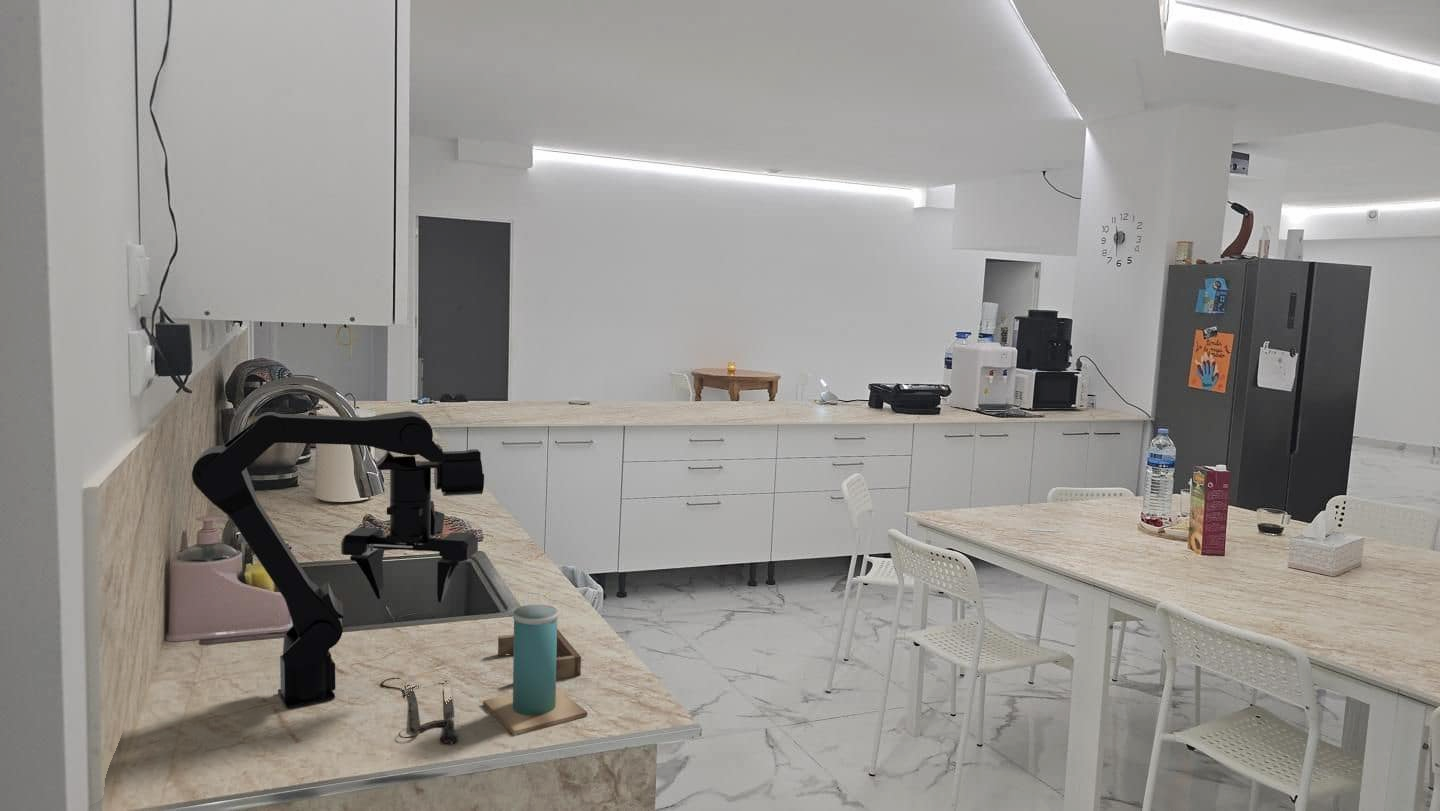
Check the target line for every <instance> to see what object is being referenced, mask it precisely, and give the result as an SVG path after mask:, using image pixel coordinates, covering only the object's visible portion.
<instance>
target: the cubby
mask: <svg viewBox="0 0 1440 811" xmlns="http://www.w3.org/2000/svg"><path fill="white" fill-rule="evenodd" d="M497 640H498V641H497V655H498V654H499V655H498V656H499V657H501V656H500V655H505V656H507V655H506V654H512V655H514V634H508V635H499V636H498V637H497ZM556 656H558V657H556V680H559V679H565V678H569V677H570V678H571V677H577V676H581V675H582V674H581V672H582V667H581V666H582V656H581V655H580V654H579V652H577V650H576V649H575V648H574V647H573V646H572V645H571V643H570V642H569V641H568V640H567V639H566V637H565V636H564V634H562V632H561V631H560V630H559V629H558V628H557V654H556Z"/></svg>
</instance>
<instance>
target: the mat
mask: <svg viewBox="0 0 1440 811" xmlns="http://www.w3.org/2000/svg"><path fill="white" fill-rule="evenodd" d="M483 704H484V705H485V706H486V707H487V708H488V709H489V710H488V709H487V708H486V707H485V706H484V705H483ZM482 705H483V706H484V707H485V708H486V709H487V710H488V711H489V712H490V713H491V714H492V715H493V716H494V717H495V718H496V719H497V720H498V721H499V722H500V723H501V724H503V726H505V728H507V729H508V731H509V732H510V733H511V734H512V735H514V736H516V735H521V734H524V733H525V734H526V733H529V732H532V731H536V730H540V729H543V728H547V727H551V726H555V725H557V724H558V725H559V724H562V723H566V722H570V721H573V720H576V719H580V718H581V719H582V718H584V717H588V711H587V710H586V709H584V708H583V707H582V706H580V705H579V704H578V703H577V702H575V701H574V700H573V699H572V698H571V697H569V696H568V695H567V694H566V693H564V692H563V691H562V690H561V689H559V688H558V687H557V686H556V703H555V708H554V709H553V710H552V711H550V712H548V713H546V714H542V715H534V716H529V715H522V714H519V713H517V712H515V711H514V710H513V693H509V694H506V695H505V694H504V695H502V696H497V697H494V698H488V699H485V700H484V699H483V703H482Z"/></svg>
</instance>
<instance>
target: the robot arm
mask: <svg viewBox="0 0 1440 811" xmlns="http://www.w3.org/2000/svg"><path fill="white" fill-rule="evenodd" d="M433 434H434V432H433V429H432V427H431V424H430V423H429V422H428V421H427V419H425V418H424V416H423V415H421V414H420V413H418V412H416V411H411V410H405V411H398V412H389V413H388V412H387V413H384V414H382V413H381V414H379V415H378V414H377V415H372V416H365V417H361V416H360V417H359V416H337V415H336V416H334V415H312V414H288V413H278V412H275V411H266V412H263V413H261V414H260V415H258V417H257V418H256V420H255V421H253V422H252V423H251V424H249V425H248V426H247V427H246V428H244V429H243V430H241V431H240V432H239V433H237V434H236V435H235V436H234V437H232V438H231V439H230V440H228V441H227V442H226V443H225V444H223V445H215V446H214V445H213V446H211V447H208V448H207V449H205V450H204V451H203V452H202V453H201V455H200V456H199V457H198V458H197V460H196V462H195V463H194V465H193V468H192V472H191V479H192V481H193V484H194V486H195V487H196V488H197V489H198V490H199V491H200V492H201V493H202V494H203V496H204V497H206V498H207V499H208V500H209V502H211V504H213V505H214V506H215V507H216V508H218V509H219V510H221V512H223V513H224V514H225V515H227V517H229V518H230V519H231V520H232V522H233V523H234V525H235V527H236V529H237V530H238V531H239V533H240V534H241V536H242V537H243V539H244V540H245V542H246V543H247V545H248V546H249V548H250V549H251V550H252V552H253V553H254V555H255V557H256V558H257V559H258V561H259V562H260V564H261V566H262V567H263V569H264V571H265V572H266V573H267V575H268V576H269V578H270V579H271V581H272V582H273V584H274V586H275V587H276V588H277V590H278V591H279V593H280V595H281V596H282V597H283V599H284V602H285V604H286V607H287V609H288V613H289V616H290V618H291V622H292V624H293V625H292V626H291V627H290V628H289V629H288V630H287V631H286V632H285V633H284V634H283V646H282V654H281V655H280V656H279V659H280V660H279V661H280V662H279V663H280V668H279V670H280V671H279V672H280V673H279V674H280V688H279V689H278V690H277V694H278V696H279V698H280V700H281V701H282V703H283V705H284V707H285V708H286V709H293V708H298V707H303V706H308V705H313V704H317V703H321V702H326V701H330V700H335V698H336V694H335V693H334V691H335V690H336V663H335V661H334V660H333V658H332V653H331V652H330V649H331V648H333V647H335V646H336V645H337V644H338V643H339V641H340V640H341V638H342V635H343V632H344V629H343V621H342V620H343V618H344V612H343V610H344V609H343V602H342V601H341V600H339V599H338V598H337V597H336V596H335V595H334V593H333V590H332V588H331V585H330V583H329V582H327V581H326V582H325V583H324V584H323V585H322V586H320V587H319V586H318V585H317V584H315V583H314V582H313V581H312V580H311V579H310V578H309V576H308V575H307V574H306V572H305V571H304V569H303V567H302V565H301V564H300V563H299V561H298V560H297V558H296V556H295V555H294V554H293V552H292V551H291V549H290V548H289V546H288V544H287V543H286V541H285V540H284V539H283V538H284V537H283V536H282V535H281V534H280V532H279V530H278V529H277V527H276V526H275V525H274V523H273V522H272V520H271V518H270V517H269V515H268V514H267V512H266V511H265V508H264V507H263V506H262V505H261V503H260V502H259V501H260V500H258V498H257V494H256V491H255V488H254V485H253V483H252V479H251V476H250V473H249V471H248V470H247V469H248V467H250V465H252V464H253V463H254V462H255V461H256V460H257V459H259V457H261V456H262V455H263V454H265V452H266V451H268V449H269V448H271V447H272V446H273V445H274V444H277V443H278V444H279V443H280V444H281V443H282V444H283V443H284V444H285V443H287V444H314V445H315V444H317V445H319V444H320V445H348V446H350V445H351V446H354V445H355V446H356V445H357V446H366V447H370V448H375V449H379V450H382V451H385V453H384V455H383V456H382V457H381V458H380V459H379V460H377V461H376V463H375V466H376V467H377V469H378V471H389V506H387V507H386V515H387V516H389V524H390V525H389V528H390V529H389V533H388V534H387V535H384V532H383V530H382V529H381V528H374V527H373V528H371V527H370V528H369V527H358V528H356V529H355V530H352V531H351V532H349V533H347V534H345V535H344V537H342V539H341V543H340V553H341V555H343V556H344V555H345V556H349V560H350V561H352V562H355V563H356V564H357V565H358V567H359V568H360V570H361V571H362V572H363V574H364V576H365V577H366V579H367V581H368V582H369V585H370V587H371V588H372V590H373V593H374V595H375V597H376V598H377V600H382V599H383V598H384V590H385V589H384V588H385V585H384V570H383V559H384V555H385V550H401V551H402V550H403V551H421V552H423V551H424V552H439V553H438V554H439V556H440V557H441V559H440V560H438V561H437V567H436V568H437V569H436V571H437V572H436V573H437V575H436V577H437V582H436V585H437V587H436V588H437V590H436V596H437V600H438V601H437V602H438V603H442V602H443V601H444V599H445V596H446V594H447V591H448V588H449V586H450V582H451V580H452V578H453V574H454V573H455V570H456V568H457V567H458V566H460V565H461V564H462V563H463V562H464V561H468V560H469V559H470V558H471V557H472V556H474V555H475V554H477V553H478V550H479V548H478V547H479V546H478V545H479V540H478V538H477V536H476V535H475V534H474V533H472V532H471V533H470V532H450V533H449V534H447V535H446V536H445V537H443V538H438V537H437V538H436V537H435V538H434V537H431V536H436V535H443V532H444V531H443V530H444V524H445V523H444V522H445V515H446V514H445V513H443V512H441V511H437V510H435V504H434V502H435V501H434V500H432V492H431V491H432V484H431V483H432V479H431V478H432V469H433V470H434V471H433V483H434V489H435V490H436V491H437V490H438V491H440V490H441V493H442V497H449V496H450V497H452V496H453V497H454V496H471V495H473V496H474V495H483V492H484V486H485V474H484V473H483V464H482V460H481V454H482V453H481V451H480V450H479V449H473V448H472V449H467V450H458V451H457V450H456V451H454V450H453V451H449V450H448V451H443V450H444V449H443V448H442V447H441V445H440V444H438V443H437V444H436V443H435V441H434V440H433V438H434V435H433ZM391 452H392V453H396V454H400V456H397V455H396V456H395V455H393V454H392V453H391ZM403 455H404V456H403ZM418 455H419V456H420V457H422V458H424V459H425V460H427V461H421V460H416V457H415V456H418Z"/></svg>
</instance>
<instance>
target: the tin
mask: <svg viewBox="0 0 1440 811" xmlns="http://www.w3.org/2000/svg"><path fill="white" fill-rule="evenodd" d="M558 617H559V610H558V608H556V607H555V606H553V605H549V604H542V603H536V604H535V603H534V604H527V605H522V606H519V607H516V608H515V609H514V610H513V635H514V654H512V656H513V658H512V660H513V662H512V664H513V668H512V670H513V671H512V677H513V678H512V694H513V710H514V711H515V712H517V713H519V714H522V715H529V716H534V715H542V714H546V713H548V712H550V711H552V710H553V709H554V708H555V703H556V687H557V679H556V658H557V629H558Z"/></svg>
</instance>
